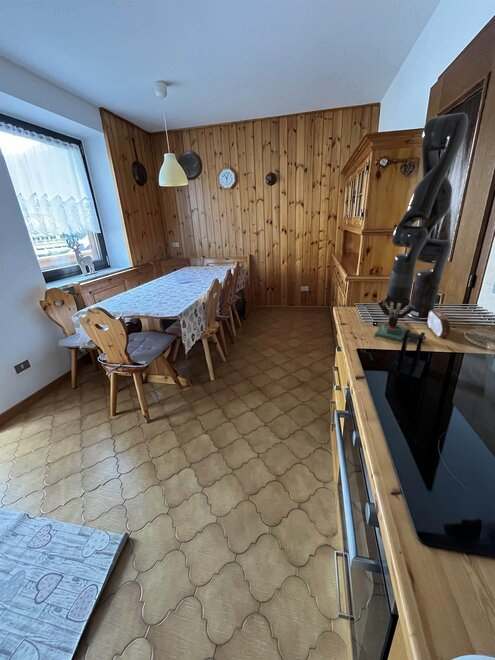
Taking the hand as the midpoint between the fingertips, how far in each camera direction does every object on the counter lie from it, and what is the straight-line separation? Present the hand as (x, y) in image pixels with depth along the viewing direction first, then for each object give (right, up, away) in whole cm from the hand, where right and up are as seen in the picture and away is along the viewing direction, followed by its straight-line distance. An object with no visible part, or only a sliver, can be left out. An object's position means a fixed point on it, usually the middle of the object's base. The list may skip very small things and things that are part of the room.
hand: (392, 326), depth 111 cm
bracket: (-5, -14, -18) cm, 23 cm away
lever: (-2, -5, -19) cm, 20 cm away
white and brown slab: (+18, -3, +2) cm, 18 cm away
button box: (0, -4, +2) cm, 4 cm away
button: (0, -1, +1) cm, 2 cm away
